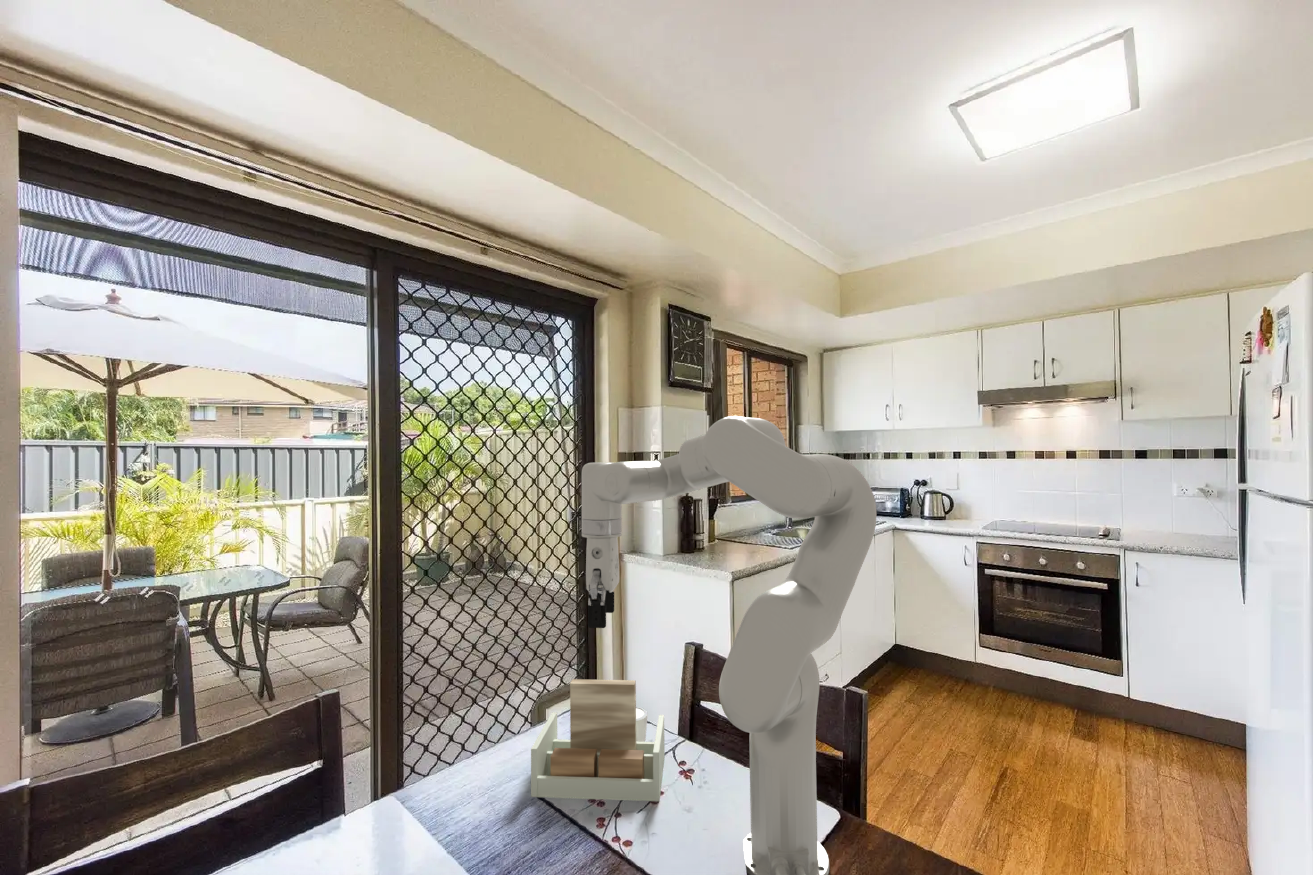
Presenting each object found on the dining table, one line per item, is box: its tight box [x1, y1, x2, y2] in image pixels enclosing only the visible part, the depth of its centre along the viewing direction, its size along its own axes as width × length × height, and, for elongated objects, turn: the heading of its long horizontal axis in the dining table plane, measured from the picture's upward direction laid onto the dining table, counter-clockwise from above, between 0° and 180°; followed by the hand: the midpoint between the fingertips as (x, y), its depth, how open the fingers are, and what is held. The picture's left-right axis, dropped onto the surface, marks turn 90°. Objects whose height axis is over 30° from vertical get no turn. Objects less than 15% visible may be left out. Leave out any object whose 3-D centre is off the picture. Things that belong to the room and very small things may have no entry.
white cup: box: [636, 706, 649, 742], centre depth 115 cm, size 7×7×7 cm
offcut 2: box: [598, 749, 644, 779], centre depth 98 cm, size 3×8×6 cm, turn 86°
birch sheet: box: [569, 678, 637, 753], centre depth 105 cm, size 2×12×16 cm, turn 86°
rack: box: [530, 711, 666, 802], centre depth 103 cm, size 14×22×10 cm, turn 86°
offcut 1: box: [551, 748, 597, 777], centre depth 99 cm, size 3×8×6 cm, turn 86°
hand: (601, 619), depth 106 cm, fingers open, 9 cm apart
